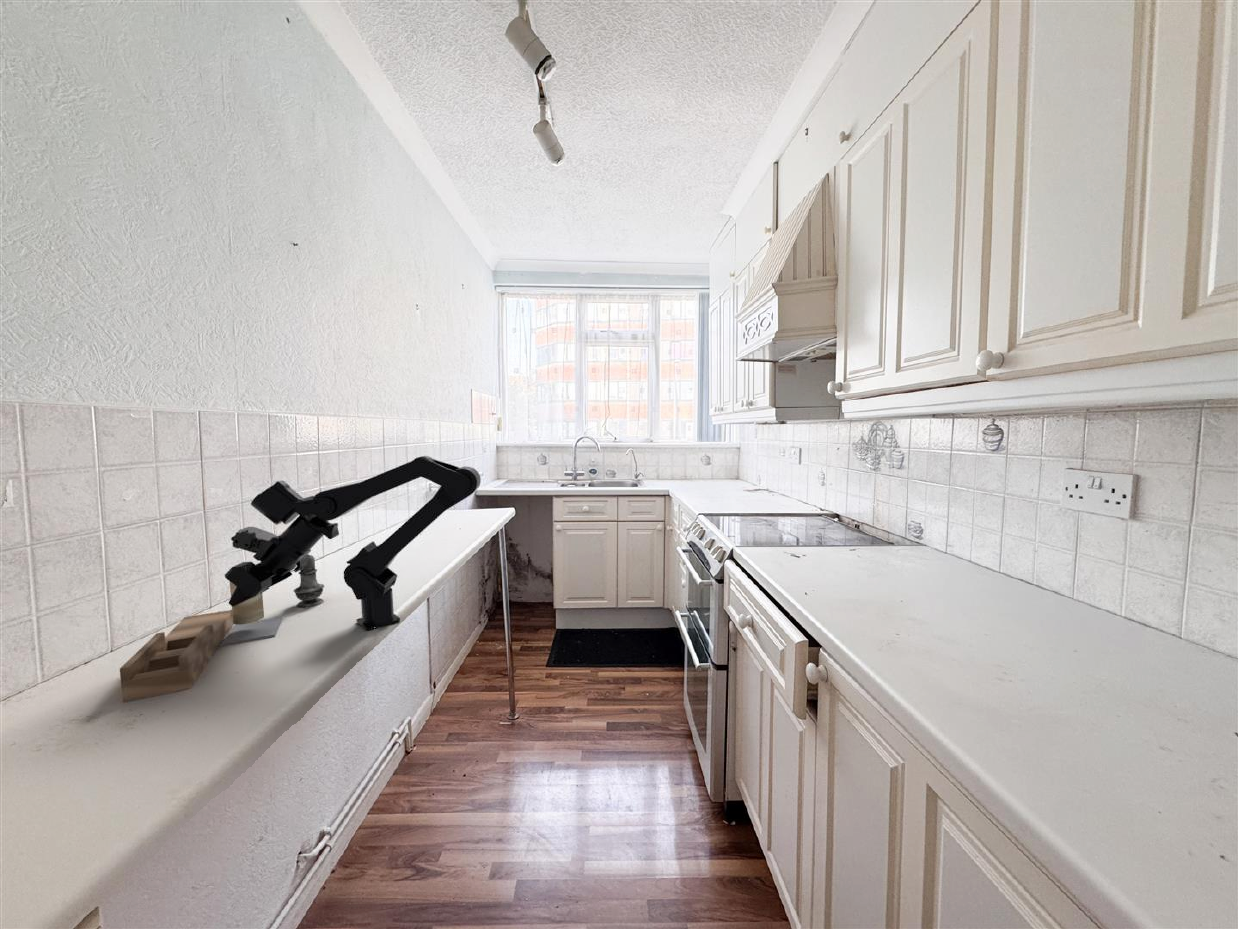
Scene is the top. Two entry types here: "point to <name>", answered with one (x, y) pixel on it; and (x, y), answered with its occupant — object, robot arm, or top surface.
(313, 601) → the salt shaker
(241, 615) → the birch cylinder
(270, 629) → the mat
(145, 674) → the wooden track
